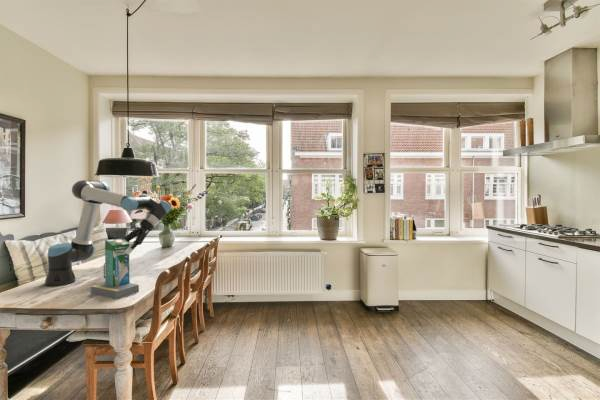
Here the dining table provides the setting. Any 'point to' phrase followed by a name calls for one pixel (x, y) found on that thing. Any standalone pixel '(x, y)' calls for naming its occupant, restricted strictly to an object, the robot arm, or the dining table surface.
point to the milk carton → (116, 262)
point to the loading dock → (114, 290)
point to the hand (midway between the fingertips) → (122, 251)
